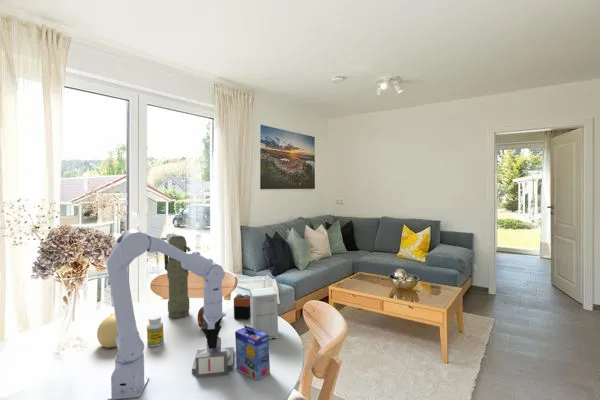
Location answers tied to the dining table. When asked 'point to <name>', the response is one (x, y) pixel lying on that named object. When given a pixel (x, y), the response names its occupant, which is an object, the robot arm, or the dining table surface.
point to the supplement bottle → (155, 331)
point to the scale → (213, 362)
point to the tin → (201, 318)
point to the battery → (242, 307)
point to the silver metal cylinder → (218, 347)
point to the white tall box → (264, 311)
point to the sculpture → (107, 332)
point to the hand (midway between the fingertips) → (213, 342)
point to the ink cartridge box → (252, 352)
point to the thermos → (177, 281)
